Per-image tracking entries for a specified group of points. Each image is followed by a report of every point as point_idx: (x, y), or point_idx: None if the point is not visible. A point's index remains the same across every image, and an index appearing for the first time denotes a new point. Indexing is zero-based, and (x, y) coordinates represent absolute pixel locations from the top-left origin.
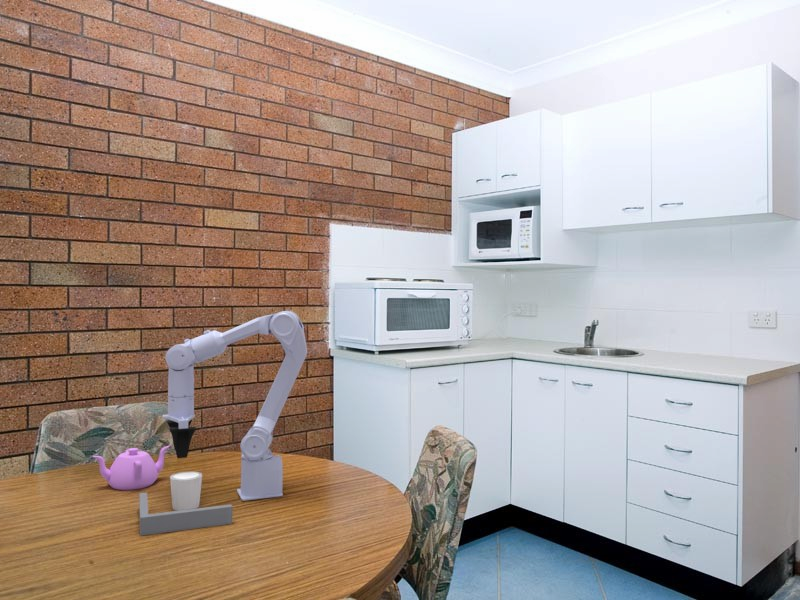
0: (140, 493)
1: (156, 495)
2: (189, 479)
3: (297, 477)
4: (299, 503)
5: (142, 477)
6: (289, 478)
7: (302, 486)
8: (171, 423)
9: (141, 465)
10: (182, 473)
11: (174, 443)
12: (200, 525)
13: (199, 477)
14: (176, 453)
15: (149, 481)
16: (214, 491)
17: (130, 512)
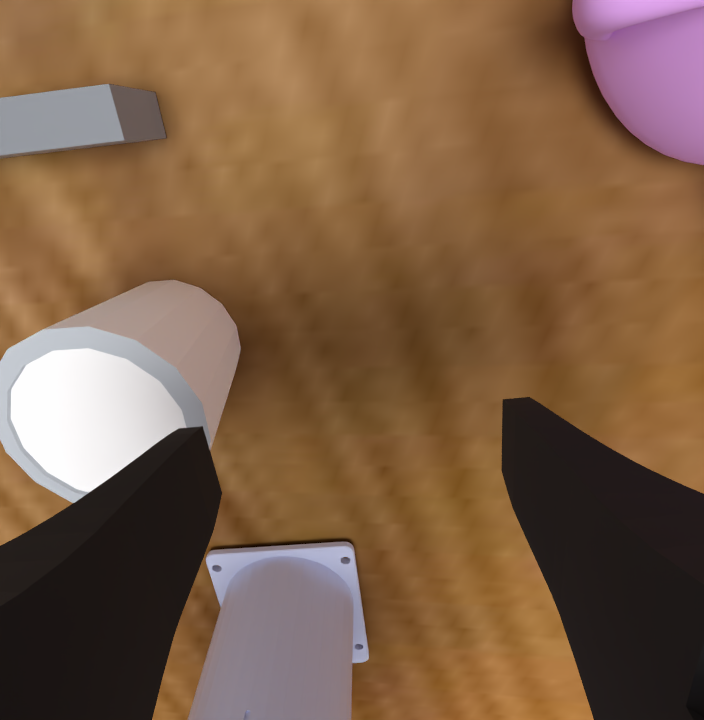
0: (102, 92)
1: (403, 177)
2: (6, 447)
3: (468, 714)
4: (165, 686)
5: (614, 54)
6: (466, 695)
7: (351, 713)
8: (692, 643)
9: (597, 30)
10: (156, 405)
11: (530, 434)
12: None
13: (65, 496)
14: (150, 448)
15: (614, 113)
16: (382, 459)
17: (102, 39)
